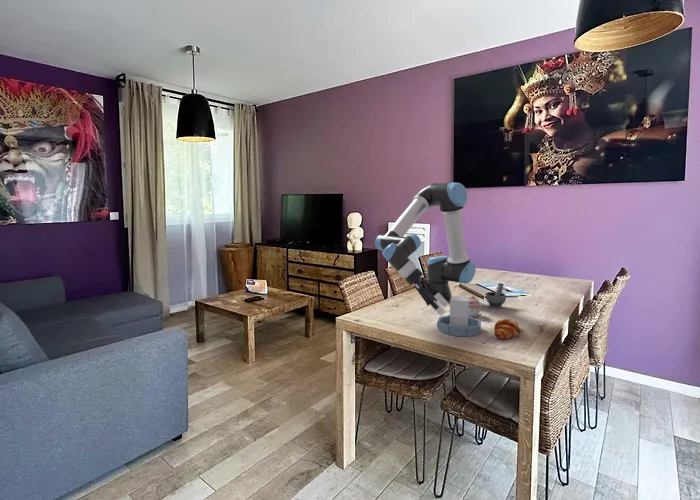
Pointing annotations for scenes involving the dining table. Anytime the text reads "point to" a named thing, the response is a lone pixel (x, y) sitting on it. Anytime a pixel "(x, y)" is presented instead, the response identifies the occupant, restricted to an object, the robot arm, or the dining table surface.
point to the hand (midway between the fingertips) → (444, 309)
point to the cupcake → (473, 307)
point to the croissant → (506, 329)
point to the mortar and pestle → (496, 297)
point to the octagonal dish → (471, 330)
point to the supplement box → (459, 311)
